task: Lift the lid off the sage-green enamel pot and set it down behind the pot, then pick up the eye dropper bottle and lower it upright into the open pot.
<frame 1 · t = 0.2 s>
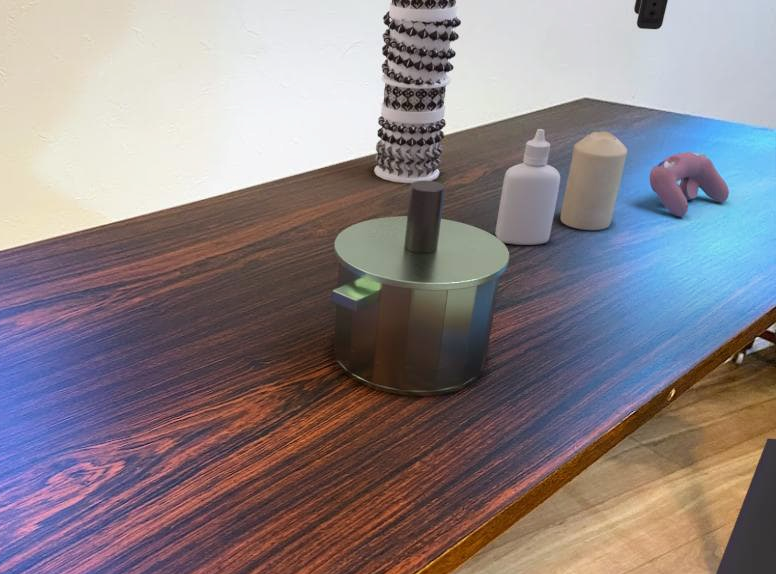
hand: (646, 20, 89), 22 cm above the table, tool pointing down, fingers open, 8 cm apart
pot: (408, 357, 77), on the table
eye dropper bottle: (520, 241, 100), on the table
video game controller: (682, 205, 109), on the table
lid: (419, 253, 72), point 9 cm above the table, touching pot
candle: (584, 223, 104), on the table
bracelet display stand: (406, 174, 119), on the table
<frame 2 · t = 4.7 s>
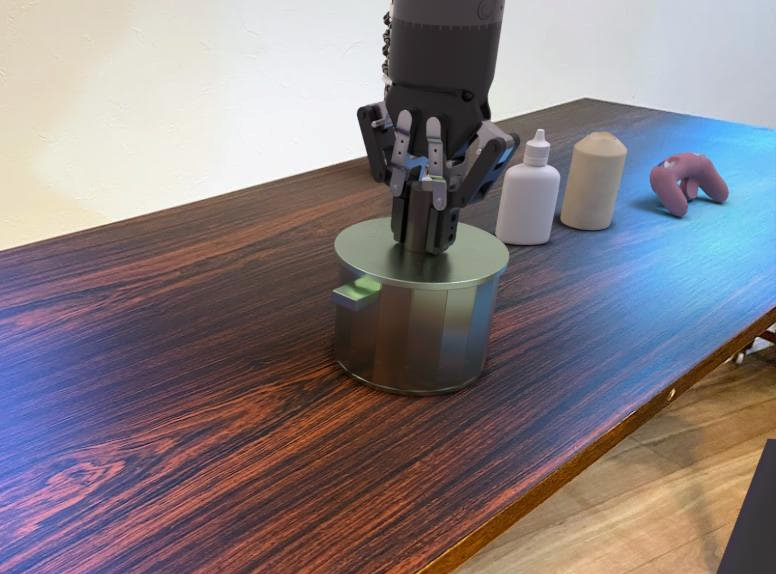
hand: (420, 244, 72), 10 cm above the table, tool pointing down, fingers closed on lid, 2 cm apart
lid: (419, 253, 72), point 9 cm above the table, touching gripper, pot
everything else where it was.
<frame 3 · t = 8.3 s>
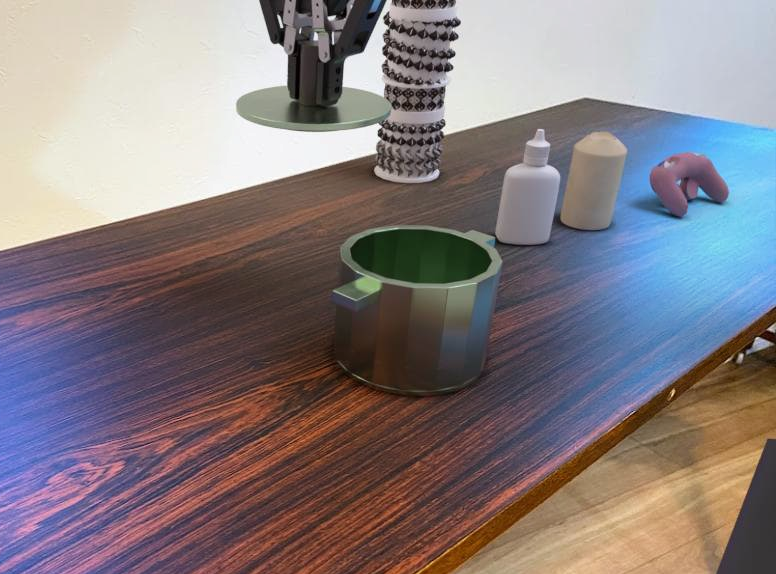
hand: (313, 100, 80), 18 cm above the table, tool pointing down, fingers closed on lid, 2 cm apart
lid: (313, 109, 80), point 17 cm above the table, touching gripper
everything else where it was.
when the fingers open (1 cm above the table, at t = 12.1 s): lid stays where it is, point 1 cm above the table.
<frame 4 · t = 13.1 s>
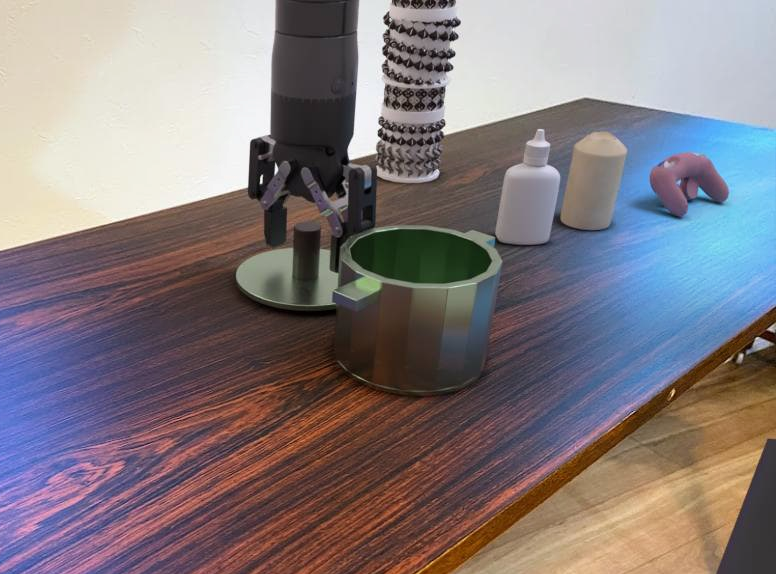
hand: (306, 257, 88), 3 cm above the table, tool pointing down, fingers open, 8 cm apart
lid: (305, 280, 89), point 1 cm above the table
everything else where it was.
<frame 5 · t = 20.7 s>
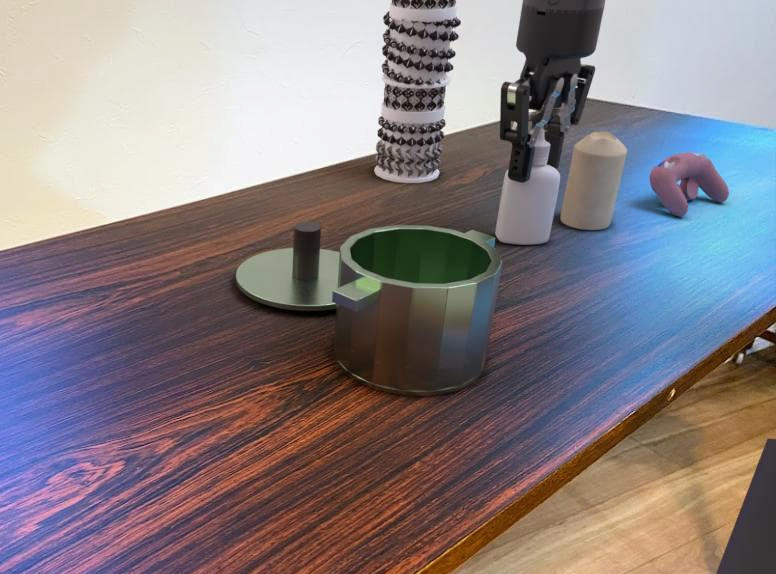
hand: (532, 173, 96), 7 cm above the table, tool pointing down, fingers closed on eye dropper bottle, 5 cm apart
eye dropper bottle: (520, 241, 100), on the table, touching gripper
everything else where it was.
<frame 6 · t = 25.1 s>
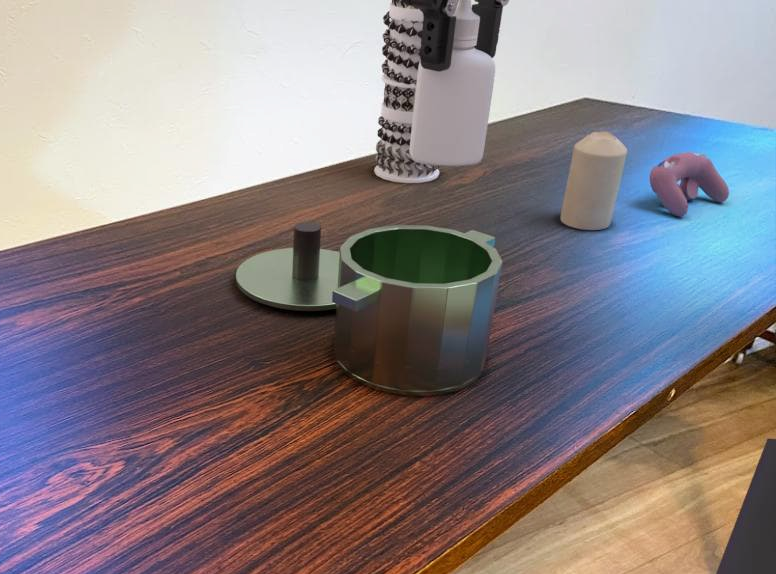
hand: (457, 62, 68), 23 cm above the table, tool pointing down, fingers closed on eye dropper bottle, 5 cm apart
eye dropper bottle: (444, 162, 72), point 16 cm above the table, touching gripper
everything else where it was.
when the fingers open (8 cm above the table, at t = 29.4 s): eye dropper bottle stays where it is, resting on pot.
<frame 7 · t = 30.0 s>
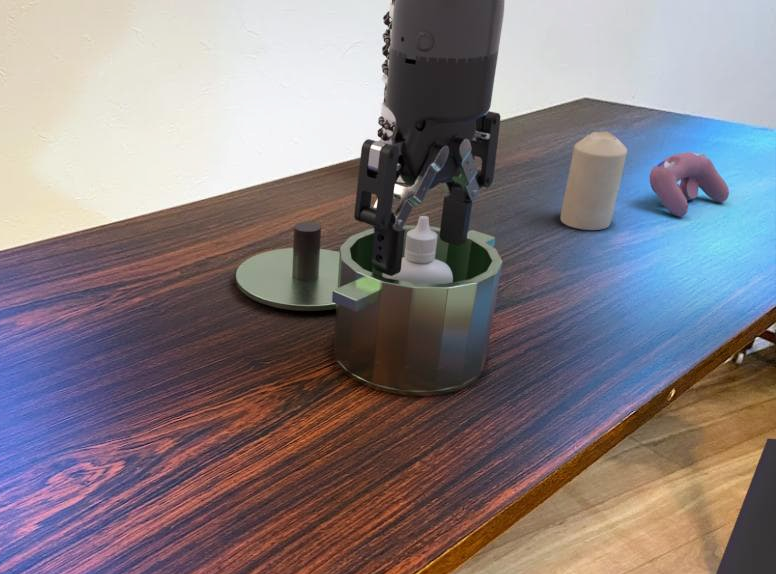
hand: (420, 256, 72), 9 cm above the table, tool pointing down, fingers open, 8 cm apart
eye dropper bottle: (408, 353, 77), resting on pot
everything else where it was.
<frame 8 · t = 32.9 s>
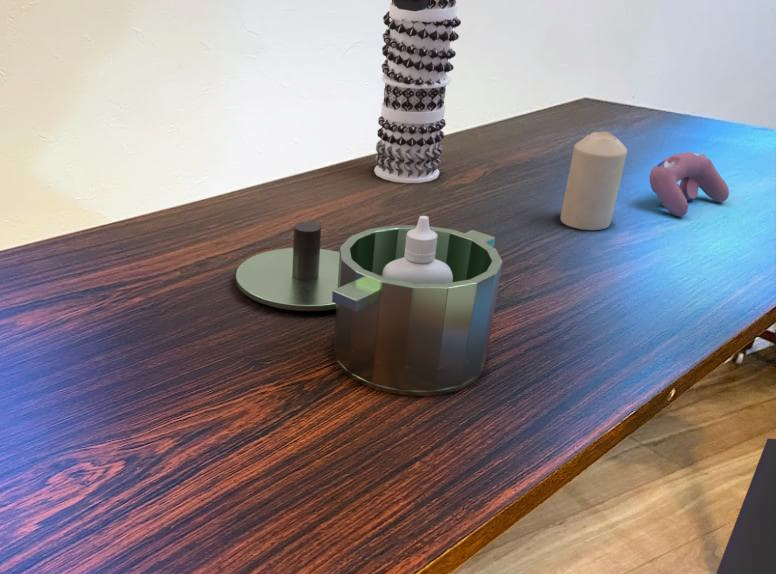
hand: (448, 2, 62), 28 cm above the table, tool pointing down, fingers open, 8 cm apart
nothing on the table moved.
at the end: eye dropper bottle inside the target area in the pot (0.1 cm from its centre), point 0.3 cm above the pot's base; lid inside the target area (0.0 cm from its centre), point 0.6 cm above the table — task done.
